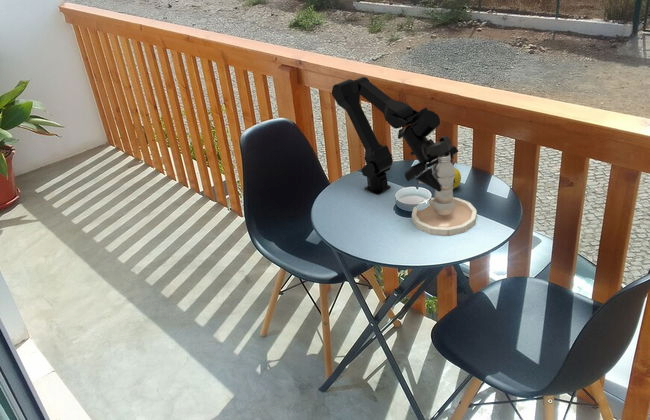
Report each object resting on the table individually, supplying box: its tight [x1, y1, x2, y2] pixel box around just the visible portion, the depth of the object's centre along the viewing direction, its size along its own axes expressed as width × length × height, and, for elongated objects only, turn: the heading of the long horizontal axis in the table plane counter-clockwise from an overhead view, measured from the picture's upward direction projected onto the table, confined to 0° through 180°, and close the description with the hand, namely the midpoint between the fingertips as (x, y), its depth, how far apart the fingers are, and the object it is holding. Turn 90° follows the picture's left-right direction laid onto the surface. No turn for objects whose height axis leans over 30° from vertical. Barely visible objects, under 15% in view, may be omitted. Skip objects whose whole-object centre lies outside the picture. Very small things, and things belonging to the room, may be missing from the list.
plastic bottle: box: [432, 152, 456, 216], centre depth 177 cm, size 6×7×20 cm
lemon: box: [453, 167, 462, 190], centre depth 195 cm, size 6×6×8 cm
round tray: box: [411, 196, 478, 237], centre depth 182 cm, size 19×19×2 cm
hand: (447, 187), depth 176 cm, fingers closed on plastic bottle, 6 cm apart
